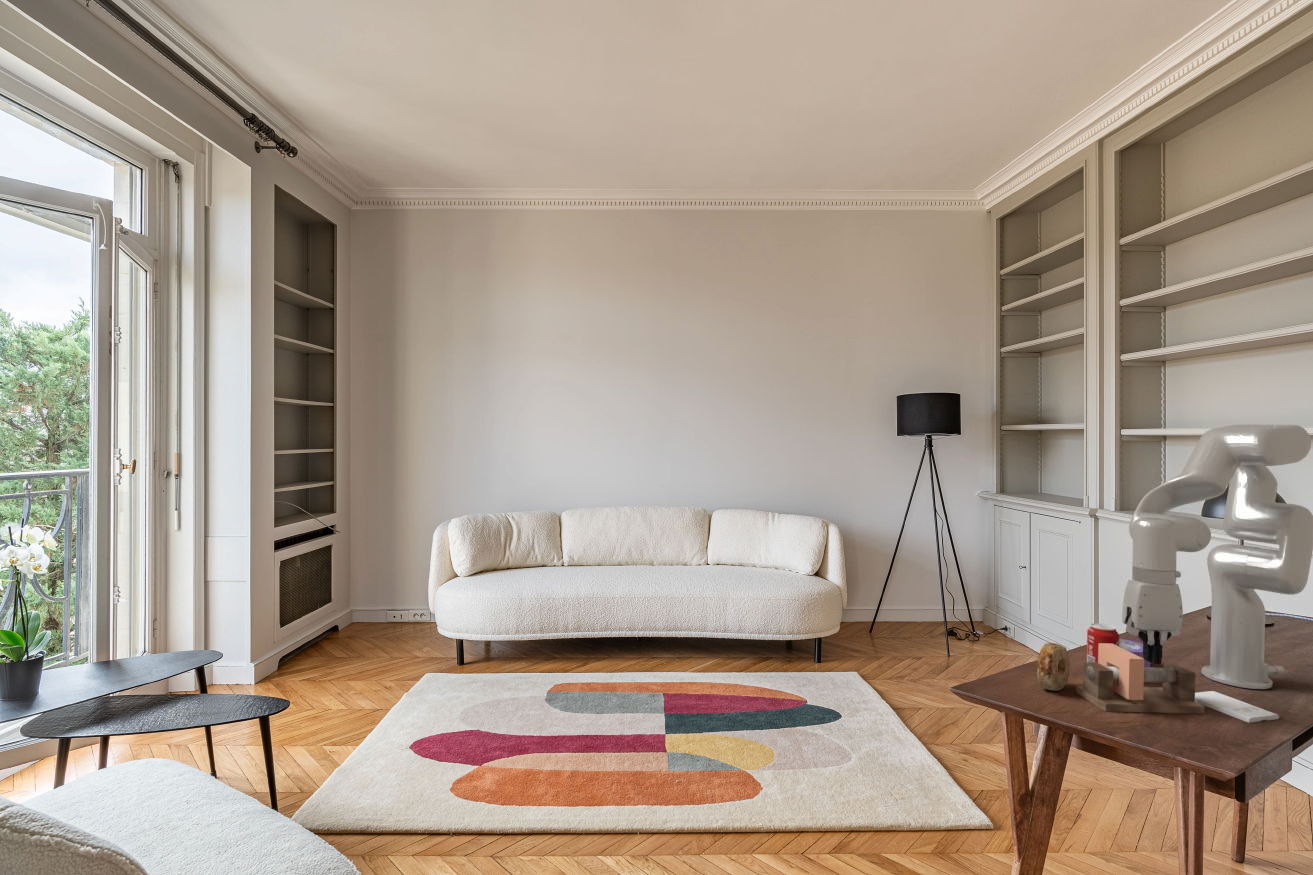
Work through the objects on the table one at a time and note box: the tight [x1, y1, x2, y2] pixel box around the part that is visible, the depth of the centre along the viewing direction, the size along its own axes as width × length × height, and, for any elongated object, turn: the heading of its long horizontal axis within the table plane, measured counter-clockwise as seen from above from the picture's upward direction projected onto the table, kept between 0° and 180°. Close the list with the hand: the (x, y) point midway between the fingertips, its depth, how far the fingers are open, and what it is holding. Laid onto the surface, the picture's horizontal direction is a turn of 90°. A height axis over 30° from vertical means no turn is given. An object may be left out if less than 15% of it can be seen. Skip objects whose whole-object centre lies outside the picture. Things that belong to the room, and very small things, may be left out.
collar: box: [1098, 643, 1145, 700], centre depth 143 cm, size 3×10×8 cm, turn 179°
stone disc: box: [1036, 642, 1070, 692], centre depth 151 cm, size 10×4×10 cm, turn 126°
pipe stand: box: [1075, 662, 1205, 714], centre depth 143 cm, size 20×10×8 cm, turn 89°
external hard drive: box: [1195, 690, 1280, 723], centre depth 141 cm, size 2×8×12 cm
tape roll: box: [1119, 638, 1151, 667], centre depth 168 cm, size 12×12×5 cm
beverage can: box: [1086, 622, 1120, 663], centre depth 158 cm, size 6×6×12 cm
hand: (1152, 661), depth 143 cm, fingers closed
